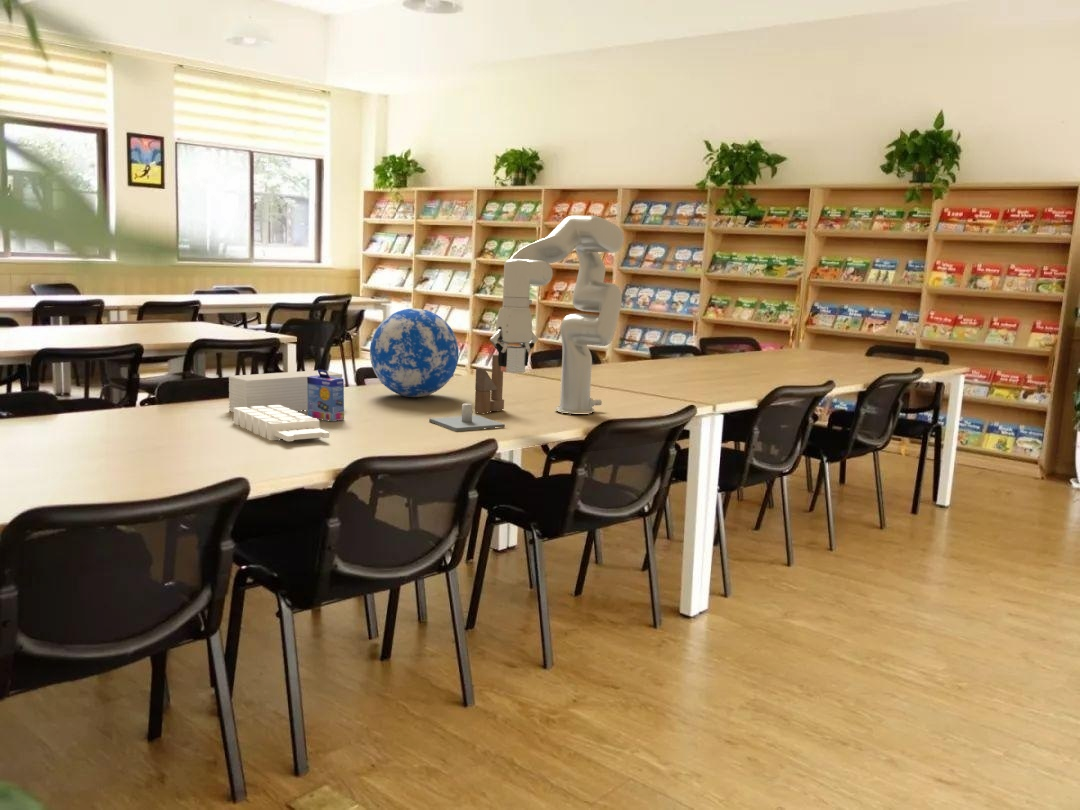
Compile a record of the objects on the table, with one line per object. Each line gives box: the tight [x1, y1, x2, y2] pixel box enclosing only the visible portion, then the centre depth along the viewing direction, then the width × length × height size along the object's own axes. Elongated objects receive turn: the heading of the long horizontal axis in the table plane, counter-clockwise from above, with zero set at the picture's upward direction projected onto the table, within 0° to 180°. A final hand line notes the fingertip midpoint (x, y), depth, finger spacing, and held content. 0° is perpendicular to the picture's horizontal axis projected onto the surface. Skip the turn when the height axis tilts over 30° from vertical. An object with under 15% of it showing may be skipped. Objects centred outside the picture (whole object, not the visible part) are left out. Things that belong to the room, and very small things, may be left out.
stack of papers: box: [228, 369, 343, 413], centre depth 287 cm, size 32×11×11 cm, turn 135°
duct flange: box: [428, 403, 506, 432], centre depth 274 cm, size 16×16×6 cm
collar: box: [501, 345, 526, 374], centre depth 272 cm, size 7×7×7 cm
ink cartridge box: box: [307, 369, 345, 422], centre depth 273 cm, size 10×6×14 cm, turn 59°
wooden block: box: [474, 353, 505, 414], centre depth 297 cm, size 4×11×18 cm, turn 145°
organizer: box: [233, 405, 330, 442], centre depth 252 cm, size 13×5×35 cm
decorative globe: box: [369, 307, 460, 398], centre depth 320 cm, size 30×30×30 cm
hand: (513, 365), depth 272 cm, fingers closed on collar, 6 cm apart
